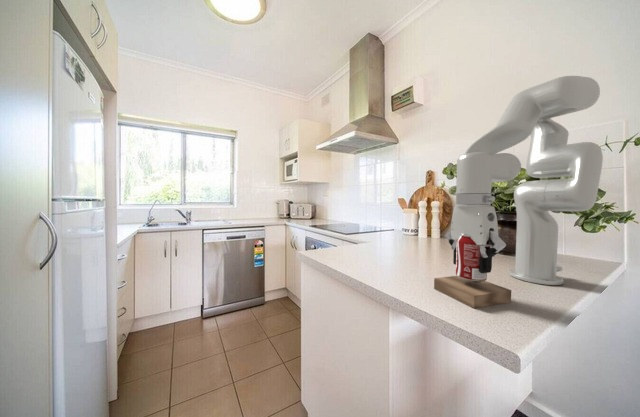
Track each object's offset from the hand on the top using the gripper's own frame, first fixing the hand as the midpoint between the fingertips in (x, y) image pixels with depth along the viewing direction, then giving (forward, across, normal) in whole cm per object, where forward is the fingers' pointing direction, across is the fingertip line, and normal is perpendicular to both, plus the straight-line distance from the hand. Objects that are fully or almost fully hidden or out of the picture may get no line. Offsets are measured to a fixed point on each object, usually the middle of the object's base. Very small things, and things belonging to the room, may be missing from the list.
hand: (471, 267), depth 59 cm
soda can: (+3, 0, 0) cm, 3 cm away
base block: (+7, 0, 0) cm, 7 cm away
